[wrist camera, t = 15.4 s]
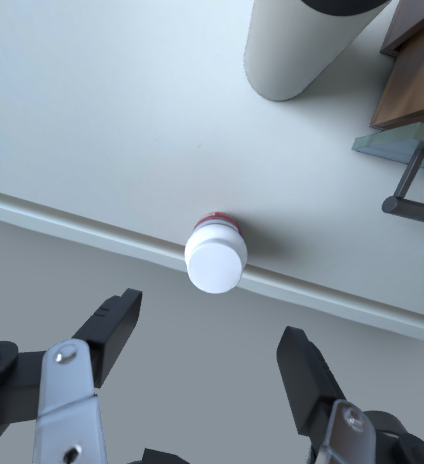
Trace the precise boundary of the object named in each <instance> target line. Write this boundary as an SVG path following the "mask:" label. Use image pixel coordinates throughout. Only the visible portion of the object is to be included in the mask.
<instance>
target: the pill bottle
mask: <svg viewBox="0 0 424 464" xmlns="http://www.w3.org/2000/svg"><path fill="white" fill-rule="evenodd" d="M185 261H186V264H187V270H188V275H189V277H190V279H191V281H192V282H193V283H194V285H195V286H197V287H198V288H199V289H201V290H203V291H205V292H208V293H223V292H226V291H228V290H230V289H232V288H233V287H234V286H235V285H236V284H237V283H238V282H239V280H240V278H241V276H242V271H243V269H244V268H245V265H246V262H247V248H246V244H245V242H244V239H243V236H242V233H241V230H240V227H239V225H238V223H237V222H236V220H235V219H234V218H233V217H231V216H230V215H228V214H226V213H222V212H212V213H209V214H206V215H205V216H203V217H202V218H201V219H200V220H199V221H198V222H197V224H196V226H195V228H194V230H193V232H192V234H191V236H190V238H189V240H188V242H187V245H186V248H185Z"/></svg>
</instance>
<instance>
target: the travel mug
mask: <svg viewBox="0 0 424 464" xmlns="http://www.w3.org/2000/svg"><path fill="white" fill-rule="evenodd" d="M391 1H392V0H254V4H253V9H252V15H251V20H250V25H249V31H248V36H247V42H246V47H245V53H244V68H245V73H246V76H247V79H248V81H249V83H250V85H251V86H252V88H253V89H254V90H255V91H256V92H257V93H258V94H259V95H261V96H262V97H264V98H267V99H270V100H275V101H281V100H287V99H290V98H292V97H294V96H296V95H298V94H299V93H301V92H302V91H303V90H304V89H305V88H306V87H307V86H308V85H309V84H310V83H311V82H312V81H313V80H314V79H315V78H316V77H317V76H318V75H319V74H320V73H321V72H322V71H323V70H324V69H325V68H326V67H327V66H328V65H329V64H330V63H331V62H332V61H333V60H334V59H335V58H336V57H337V56H338V55H339V54H340V53H341V52H342V51H343V50H344V49H345V48H346V47H347V46H348V45H349V44H350V43H351V42H352V41H353V40H354V39H355V38H356V37H357V36H358V34H359V33H360V32H361V31H362V30H363V29H364V28H365V27H366V26H367V25H368V24H369V23H370V22H371V21H372V20H373V19H374V18H375V17H376V16H377V15H378V14H379V13H380V12H381V11H382V10H383V9H384V8H385V7H386V6H387V5H388V4H389V3H390V2H391Z"/></svg>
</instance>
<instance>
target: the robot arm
mask: <svg viewBox="0 0 424 464" xmlns="http://www.w3.org/2000/svg"><path fill="white" fill-rule="evenodd" d="M141 300H142V291H138V290H134V289H130V288H128V289H127V290H126V291H125V292H124V294H123V295H122V296H121V297H120V296H113V297H111V298H109V299H107V300H106V301H105V302H104V303H103V304H102V305H101V306H100V307H99V309H97V310H96V312H95V313H94V314H93V315H92V316H91V317H90V318H89V319H88V320H87V321H86V322H85V324H84V325H83V326H82V327H81V328H80V329H79V330H78V331H77V332H76V334H75V335H74V336H73V337H72V338H71V339H67V340H64V341H61V342H58V343H56V344H55V345H53V346H52V347H51V348H49V349H48V350H47V351H40V352H24V353H18V347H17V345H16V344H15V343H12V342H9V341H0V436H1V435H2V434H3V432H4V431H5V430H6V429H7V427H8V426H9V425H10V423H15V422H22V421H28V420H34V419H36V426H35V427H36V428H35V438H34V449H33V461H32V464H108V461H107V454H106V447H105V440H104V433H103V426H102V419H101V412H100V405H99V399H98V395H97V394H95V392H94V387H95V388H101V386H102V384H103V383H104V381H105V379H106V377H107V375H108V374H109V372H110V370H111V368H112V367H113V365H114V363H115V361H116V359H117V358H118V356H119V354H120V353H121V351H122V349H123V347H124V345H125V343H126V342H127V340H128V338H129V337H130V335H131V333H132V331H133V329H134V328H135V326H136V323H137V321H138V317H139V311H140V306H141ZM277 362H278V366H279V369H280V373H281V376H282V380H283V383H284V386H285V390H286V393H287V397H288V400H289V403H290V407H291V411H292V414H293V417H294V421H295V424H296V428H297V431H298V434H300V435H304V436H309V437H310V440H311V445H310V446H309V449H308V452H307V455H306V459H305V462H304V464H424V441H422V440H421V439H420V438H418V437H416V436H414V435H412V434H410V433H402V434H401V435H398V434H396V433H394V432H390V431H379V430H377V429H375V428H374V427H373V425H372V423H371V422H370V420H369V419H368V417H367V416H366V415H365V414H364V413H363V412H362V411H361V410H360V409H359V408H358V407H356V406H355V405H354V404H352V403H350V402H349V401H347V400H346V398H345V396H344V394H343V393H342V391H341V389H340V387H339V385H338V383H337V382H336V380H335V378H334V376H333V374H332V373H331V371H330V370H329V367H328V365H327V363H326V362H325V360H324V358H323V356H322V354H321V352H320V351H319V349H318V348H317V347H316V346H315V345H314V344H313V343H312V342H310V341H309V340H308V339H307V337H306V335H305V333H304V331H303V330H302V329H298V328H294V327H290V326H287V327H286V329H285V331H284V333H283V336H282V338H281V341H280V343H279V345H278V348H277ZM128 464H190V463H188V462H186V461H185V460H183V459H181V458H180V457H178V456H177V455H174V454H169V453H165V452H160V451H156V450H151V449H147V448H145V450H144V454H143V457H142V460H140V461H134V462H131V463H128Z"/></svg>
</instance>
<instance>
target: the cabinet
mask: <svg viewBox="0 0 424 464" xmlns="http://www.w3.org/2000/svg"><path fill="white" fill-rule="evenodd" d="M423 27H424V0H400V1H399V3H398V6H397V9H396V11H395V14H394V16H393V19H392V22H391V24H390V27H389V29H388V32H387V34H386V37H385V40H384V42H383V45H382V47H381V50H380V53H384V54H388V55H392V56H396V57H398V55H399V52H400V50H401V48H402V45H403V43H404V41H405V40H407V39H408V38H410V37H411V36H412V35H414V34H415V33H416V32H418V31H419V30H421V29H422V28H423Z"/></svg>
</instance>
